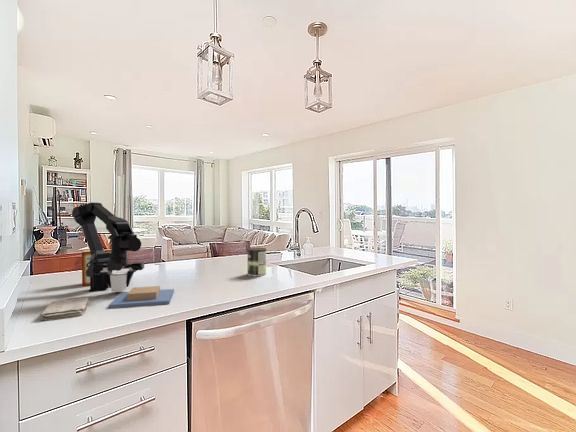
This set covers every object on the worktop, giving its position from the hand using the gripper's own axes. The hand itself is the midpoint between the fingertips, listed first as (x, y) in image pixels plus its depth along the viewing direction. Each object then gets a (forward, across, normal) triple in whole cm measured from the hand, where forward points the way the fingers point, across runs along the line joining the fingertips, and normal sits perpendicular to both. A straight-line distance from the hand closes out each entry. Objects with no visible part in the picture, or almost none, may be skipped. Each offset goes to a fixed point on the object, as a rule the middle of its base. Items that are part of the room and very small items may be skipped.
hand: (119, 287), depth 129 cm
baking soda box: (+3, -16, +22) cm, 27 cm away
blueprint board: (+2, +12, -13) cm, 18 cm away
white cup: (+1, 0, 0) cm, 1 cm away
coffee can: (+3, +62, +23) cm, 66 cm away
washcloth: (+3, -11, -21) cm, 24 cm away
